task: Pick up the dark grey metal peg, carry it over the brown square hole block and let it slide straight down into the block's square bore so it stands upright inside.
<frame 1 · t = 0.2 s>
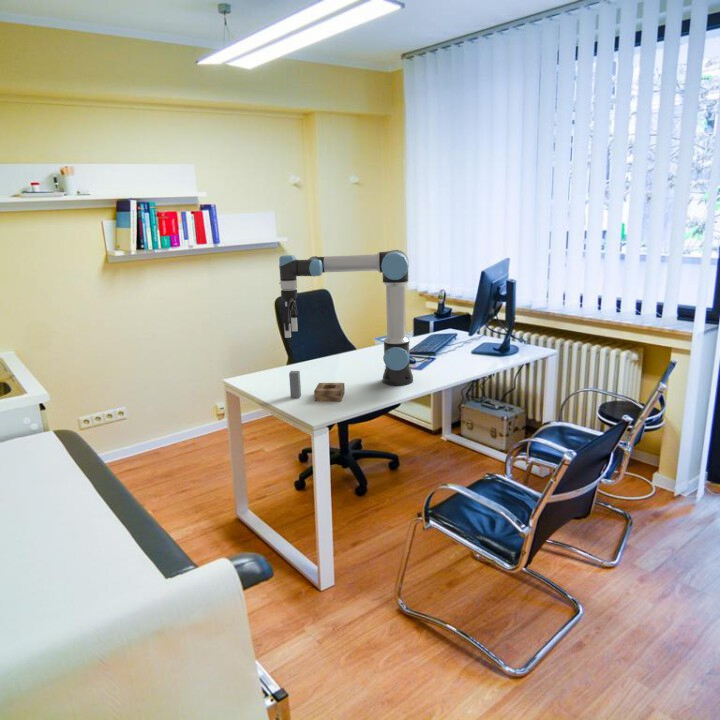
hand: (291, 334, 276), 27 cm above the table, tool pointing down, fingers open, 13 cm apart
metal peg: (295, 396, 271), on the table
brown square hole block: (330, 397, 270), on the table
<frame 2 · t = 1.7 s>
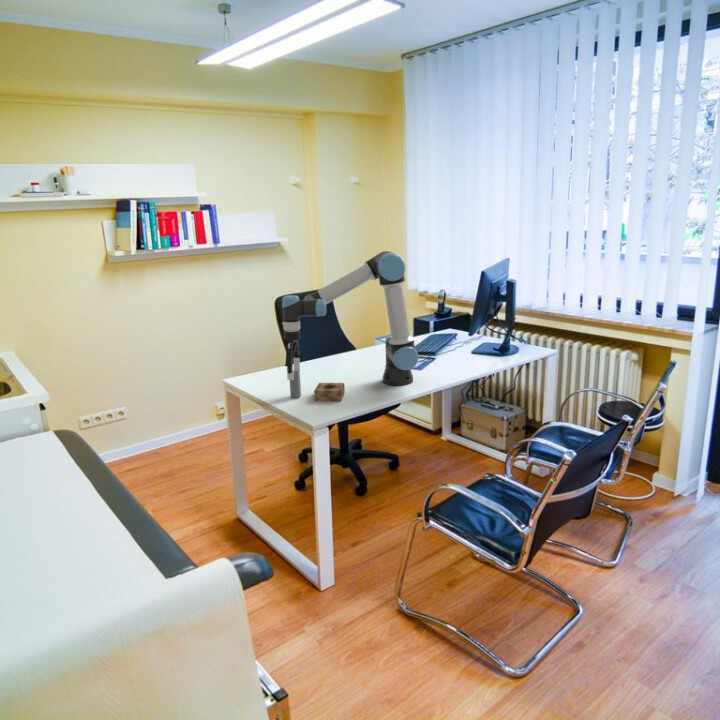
hand: (293, 375, 269), 10 cm above the table, tool pointing down, fingers open, 13 cm apart
nothing on the table moved.
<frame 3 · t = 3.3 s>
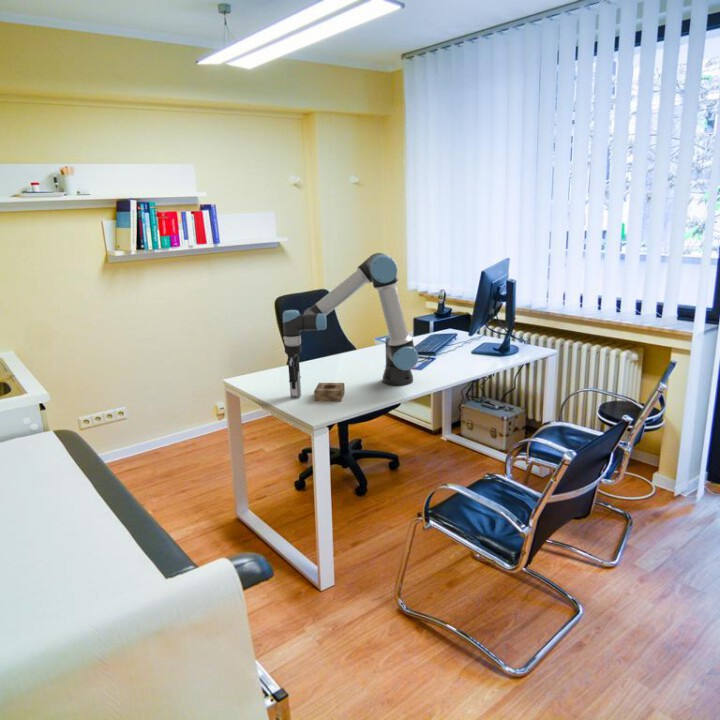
hand: (295, 393, 271), 2 cm above the table, tool pointing down, fingers closed on metal peg, 4 cm apart
metal peg: (295, 396, 271), on the table, touching gripper
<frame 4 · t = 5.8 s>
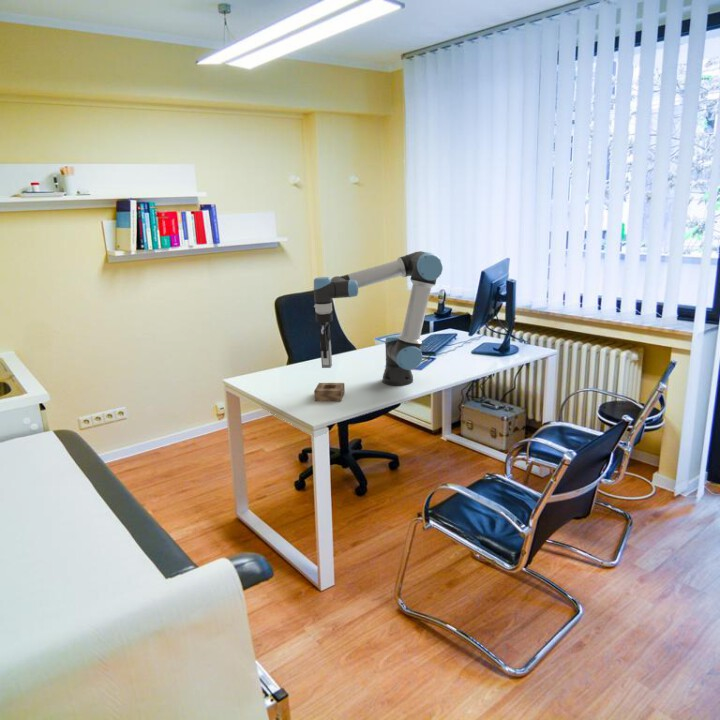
hand: (326, 363, 266), 16 cm above the table, tool pointing down, fingers closed on metal peg, 4 cm apart
metal peg: (327, 366, 266), point 15 cm above the table, touching gripper
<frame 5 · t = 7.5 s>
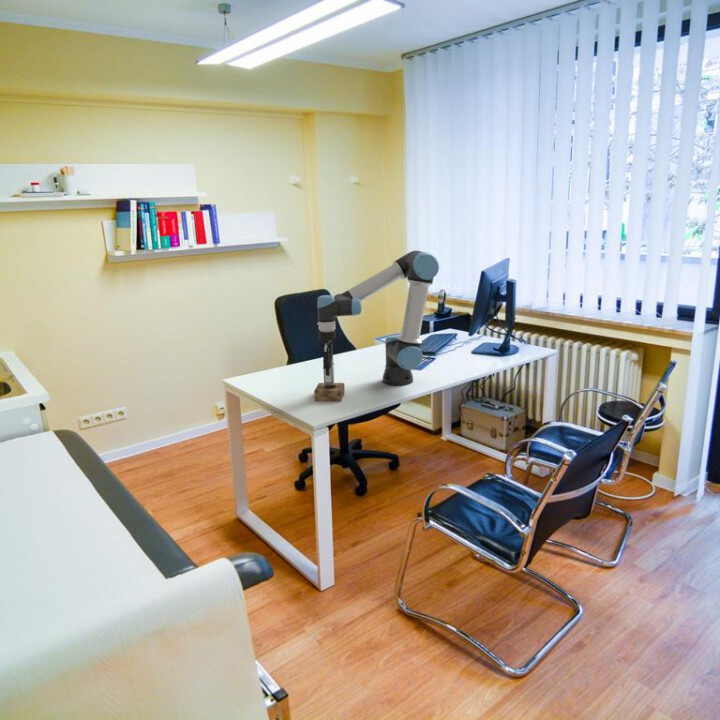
hand: (329, 380, 268), 8 cm above the table, tool pointing down, fingers closed on metal peg, 4 cm apart
metal peg: (329, 383, 268), point 6 cm above the table, touching gripper
when the fingers open (7 cm above the table, at t = 8.5 s): metal peg drops 6 cm, resting in brown square hole block.
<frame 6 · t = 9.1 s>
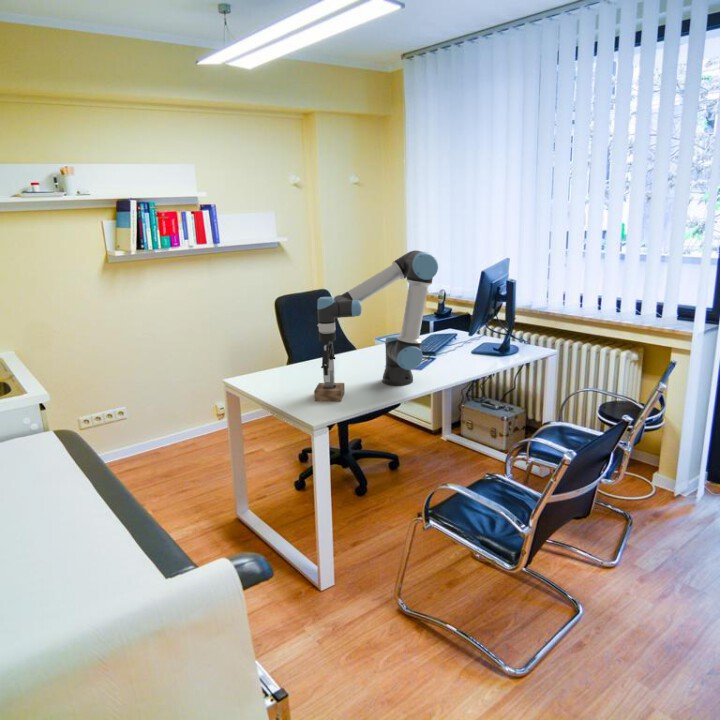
hand: (329, 377, 267), 9 cm above the table, tool pointing down, fingers open, 13 cm apart
metal peg: (330, 397, 270), resting in brown square hole block
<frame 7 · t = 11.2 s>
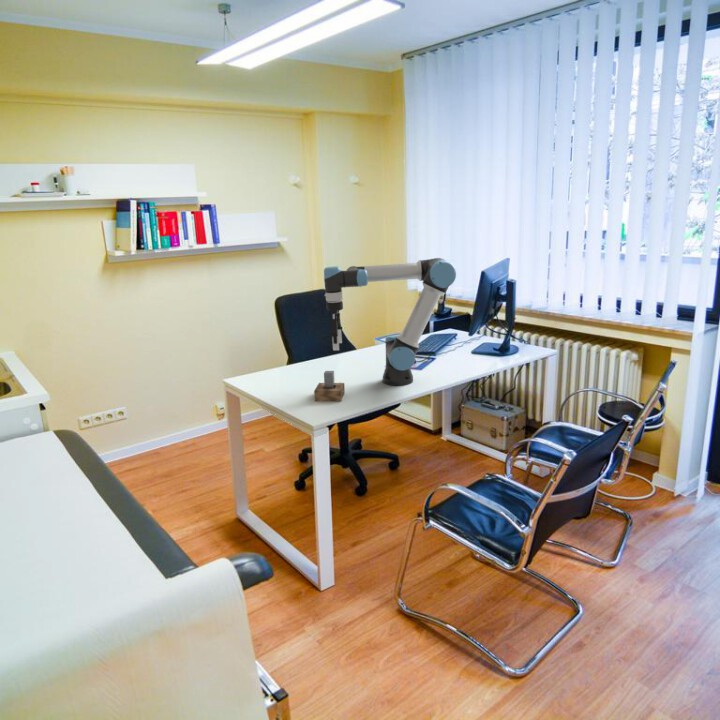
hand: (337, 346, 271), 22 cm above the table, tool pointing down, fingers open, 13 cm apart
nothing on the table moved.
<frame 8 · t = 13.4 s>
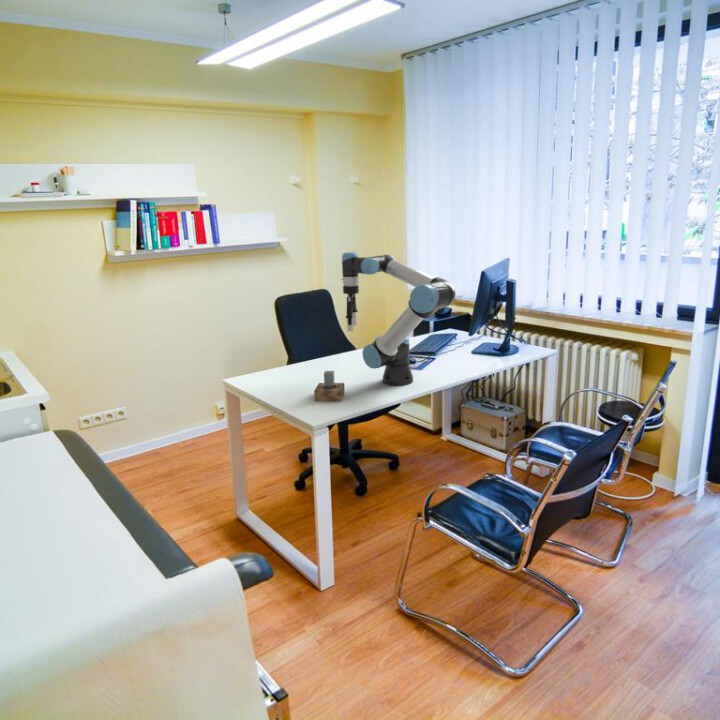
hand: (352, 328, 287), 27 cm above the table, tool pointing down, fingers open, 13 cm apart
nothing on the table moved.
at the end: metal peg 0.1 cm off-centre on the brown square hole block, point 0.0 cm above the brown square hole block's base; metal peg tilted 0°; the gripper is holding nothing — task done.
